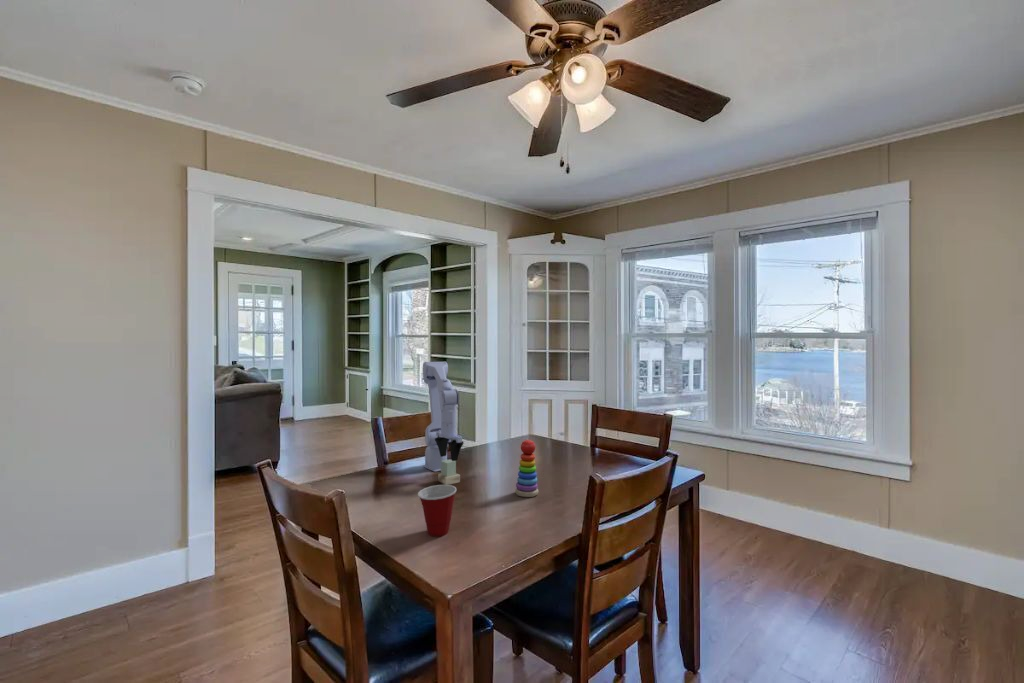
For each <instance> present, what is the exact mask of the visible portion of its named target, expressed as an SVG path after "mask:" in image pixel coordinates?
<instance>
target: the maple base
mask: <svg viewBox="0 0 1024 683" xmlns="http://www.w3.org/2000/svg"><path fill="white" fill-rule="evenodd" d="M437 475H438V476H437V478H438V479H437V482H440V483H441V484H442V485H452V484H457V483H460V482H461V474H459V473H457V472H456V475H452V476H448V477H446V476H444V475H441V472H440V473H438V474H437Z"/></svg>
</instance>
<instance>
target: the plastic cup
mask: <svg viewBox="0 0 1024 683" xmlns="http://www.w3.org/2000/svg"><path fill="white" fill-rule="evenodd" d="M456 493H457V487H456V486H454V485H452V484H449V485H445V484H437V485H430V486H428V487H424V488H423V489H420V490H419V491H418V492H417V496H418V498H419V500H420V502H421V505H422V509H423V514H424V521H425V525H426V532H427V534H428V535H429V536H431V537H437V538H438V537H443V536H446V535H448V533H449V530H450V526H451V521H452V515H453V507H454V502H455V496H456Z"/></svg>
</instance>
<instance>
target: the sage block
mask: <svg viewBox="0 0 1024 683" xmlns="http://www.w3.org/2000/svg"><path fill="white" fill-rule="evenodd" d="M440 473H441V475H444V476H446V477H448V476H452V475H456V473H457V460H456V461H452V459H451V458H450V459H448V458H447V460H444V461H441V471H440Z"/></svg>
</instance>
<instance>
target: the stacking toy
mask: <svg viewBox="0 0 1024 683" xmlns="http://www.w3.org/2000/svg"><path fill="white" fill-rule="evenodd" d="M520 450H521V452H522V453H521V454H520V460H519V466H518V470H519V471H518V472H517V476H518V477H517V478H516V480H517V482H516V484H515V487H516V488H515V494H516V495H517V496H519V497H521V498H533V497H536V496H537V495H538V494H539V491H540V490H539V489H538V478H537V476H538V474H537V466H536V460H535V459H536V456H535V454H534V452H535V450H536V445H535V442H534V441H533V440H531V439H525V440H523V441H522V442H521V444H520Z"/></svg>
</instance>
